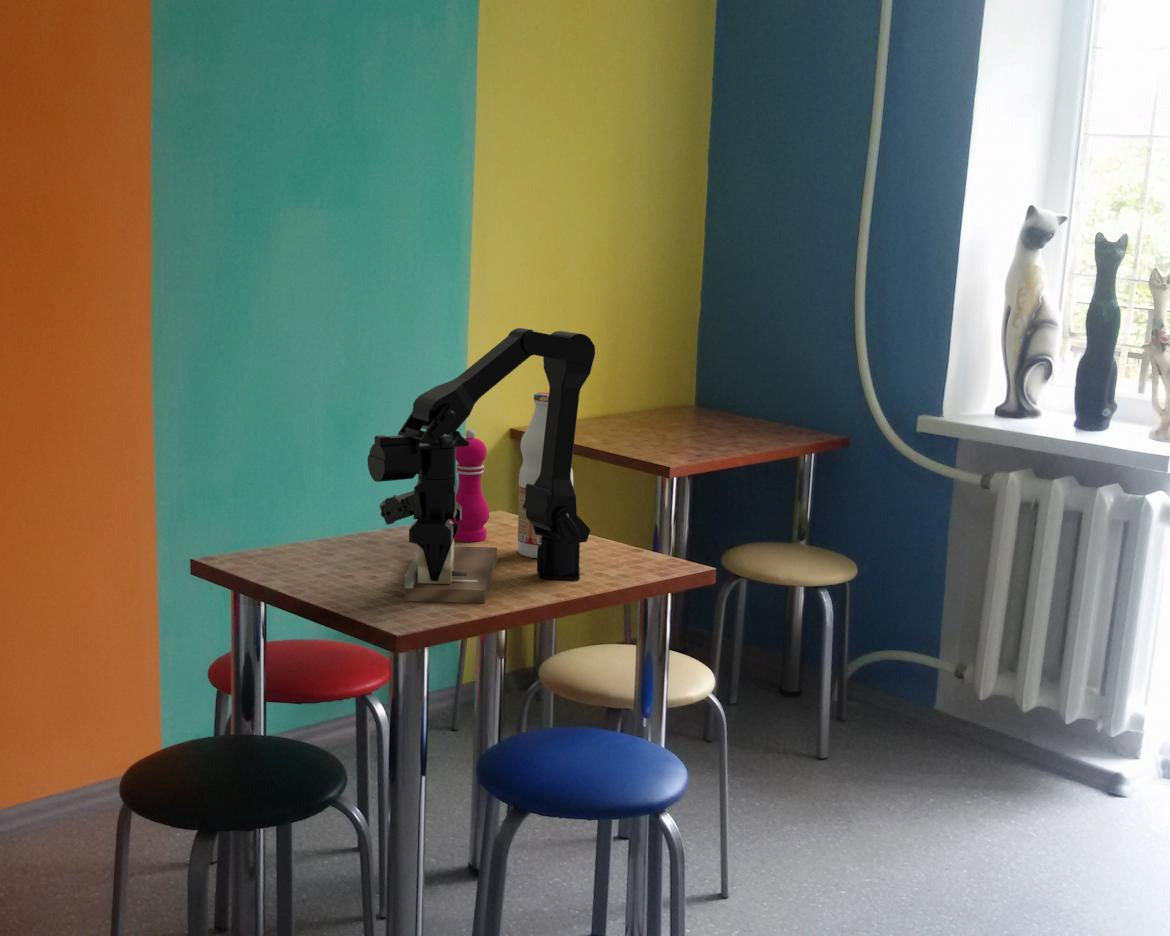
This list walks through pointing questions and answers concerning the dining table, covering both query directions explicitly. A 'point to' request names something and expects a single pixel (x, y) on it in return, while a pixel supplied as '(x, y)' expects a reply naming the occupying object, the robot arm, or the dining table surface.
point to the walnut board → (456, 578)
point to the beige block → (446, 571)
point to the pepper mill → (471, 490)
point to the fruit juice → (531, 473)
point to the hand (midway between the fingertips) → (436, 576)
